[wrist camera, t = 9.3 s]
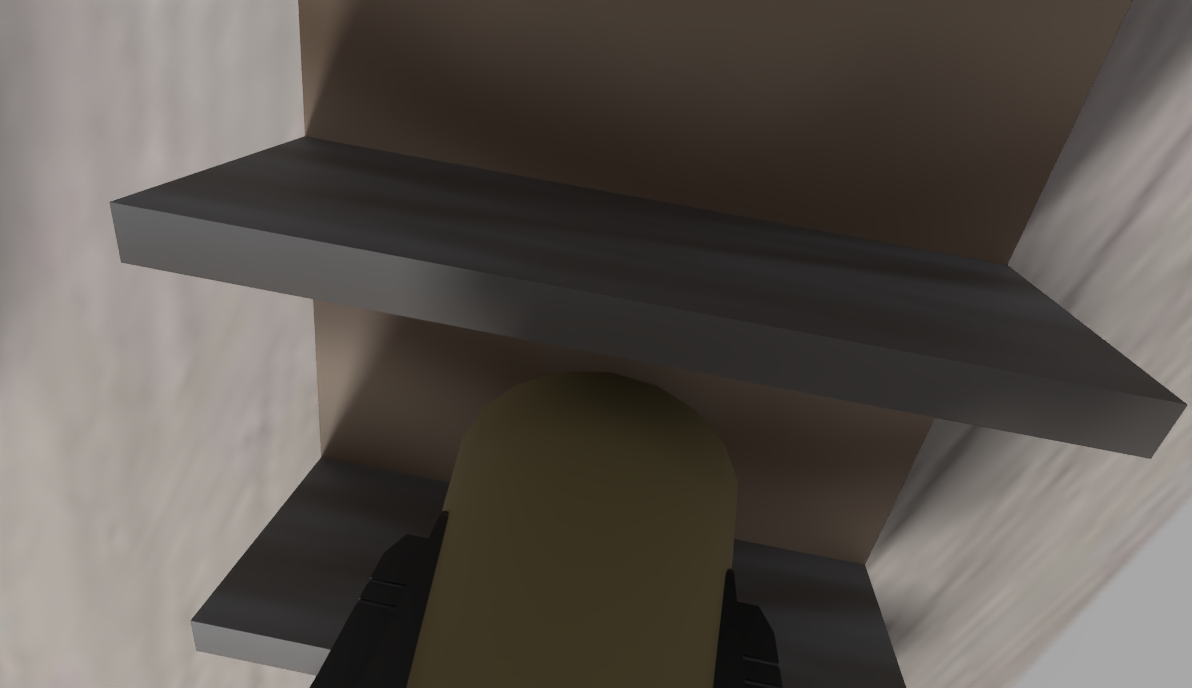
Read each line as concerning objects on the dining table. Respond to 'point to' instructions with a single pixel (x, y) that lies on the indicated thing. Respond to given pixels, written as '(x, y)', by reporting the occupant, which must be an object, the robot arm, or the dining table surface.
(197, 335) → the dining table surface
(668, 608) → the cork
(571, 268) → the rack
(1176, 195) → the dining table surface
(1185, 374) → the dining table surface
